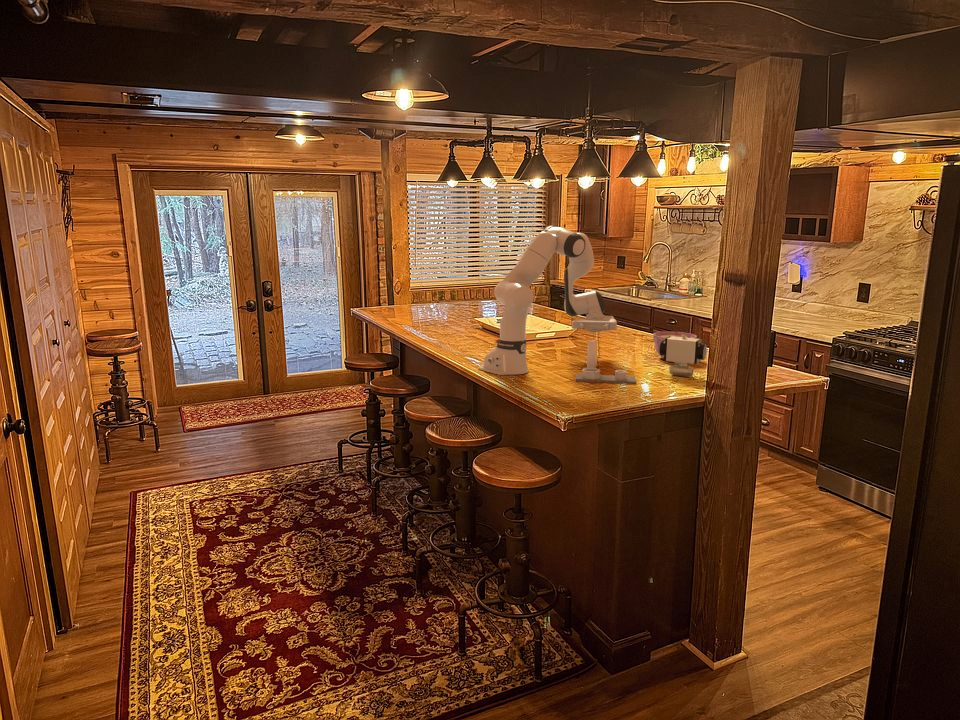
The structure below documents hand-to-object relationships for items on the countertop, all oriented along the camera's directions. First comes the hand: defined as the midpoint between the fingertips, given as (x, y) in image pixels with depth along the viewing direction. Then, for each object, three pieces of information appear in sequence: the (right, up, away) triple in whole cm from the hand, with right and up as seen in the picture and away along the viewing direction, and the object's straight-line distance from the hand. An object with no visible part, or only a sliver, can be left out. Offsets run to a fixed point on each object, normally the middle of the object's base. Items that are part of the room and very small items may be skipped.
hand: (593, 327), depth 294 cm
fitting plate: (+1, -23, -21) cm, 31 cm away
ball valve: (+35, -21, -12) cm, 43 cm away
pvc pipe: (-2, -20, -8) cm, 22 cm away
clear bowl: (+42, -14, +22) cm, 49 cm away
